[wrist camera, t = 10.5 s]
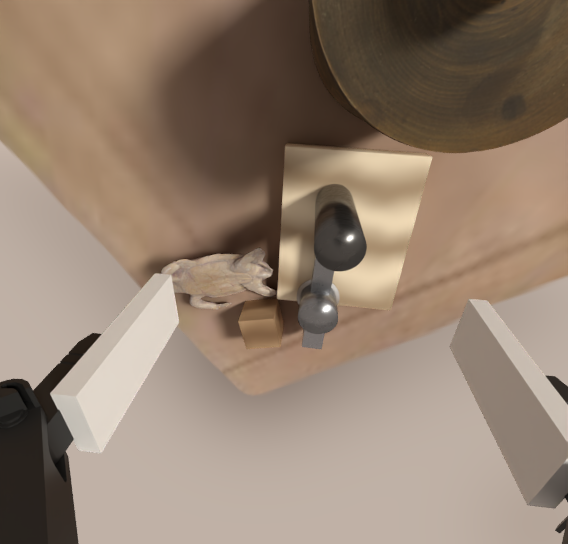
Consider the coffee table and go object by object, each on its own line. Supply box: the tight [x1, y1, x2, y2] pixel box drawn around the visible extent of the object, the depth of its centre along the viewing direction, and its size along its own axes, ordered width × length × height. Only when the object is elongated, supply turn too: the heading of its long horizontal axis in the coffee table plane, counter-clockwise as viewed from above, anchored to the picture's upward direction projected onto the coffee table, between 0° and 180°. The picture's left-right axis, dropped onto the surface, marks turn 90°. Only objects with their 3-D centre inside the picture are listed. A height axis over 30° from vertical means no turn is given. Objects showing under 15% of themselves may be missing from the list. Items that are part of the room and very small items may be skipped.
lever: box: [298, 184, 367, 349], centre depth 32 cm, size 19×4×11 cm, turn 175°
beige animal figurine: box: [161, 248, 277, 309], centre depth 38 cm, size 16×10×10 cm, turn 124°
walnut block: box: [238, 298, 284, 349], centre depth 42 cm, size 4×4×4 cm
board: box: [277, 143, 432, 310], centre depth 36 cm, size 20×14×2 cm
